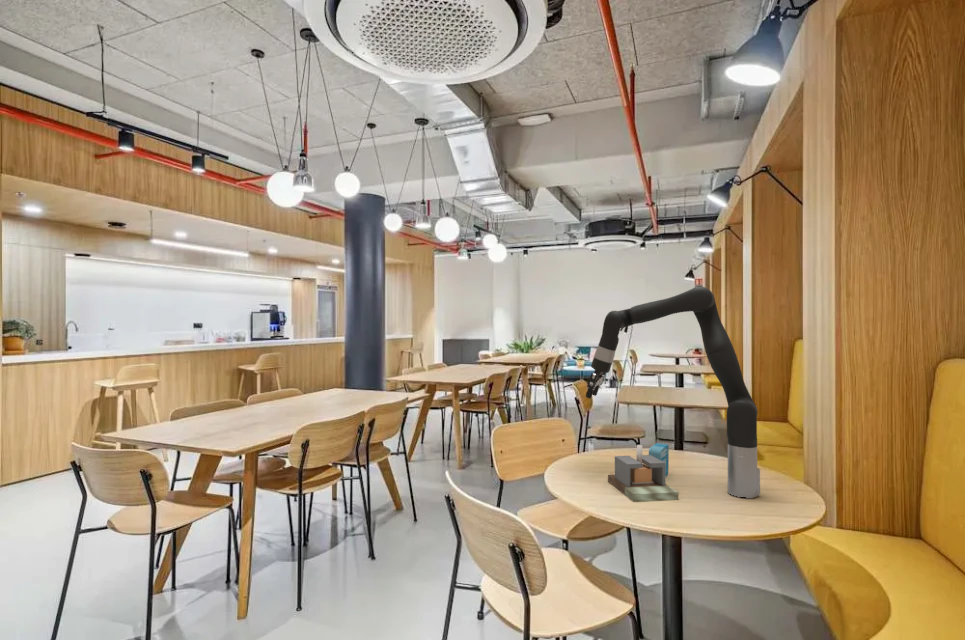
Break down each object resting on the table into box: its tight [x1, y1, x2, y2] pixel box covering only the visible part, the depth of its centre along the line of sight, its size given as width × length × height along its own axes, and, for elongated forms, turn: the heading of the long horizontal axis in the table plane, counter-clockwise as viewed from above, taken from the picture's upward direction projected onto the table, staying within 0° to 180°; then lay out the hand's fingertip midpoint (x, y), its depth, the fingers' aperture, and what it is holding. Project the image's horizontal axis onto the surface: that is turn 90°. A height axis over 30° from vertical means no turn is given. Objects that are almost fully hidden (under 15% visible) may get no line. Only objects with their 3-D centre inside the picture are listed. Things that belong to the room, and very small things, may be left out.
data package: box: [648, 443, 670, 478], centre depth 195 cm, size 12×4×12 cm, turn 146°
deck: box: [607, 473, 680, 503], centre depth 179 cm, size 16×22×2 cm
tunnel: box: [614, 454, 666, 487], centre depth 181 cm, size 14×11×8 cm
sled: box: [630, 444, 654, 484], centre depth 181 cm, size 8×6×13 cm
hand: (590, 396), depth 203 cm, fingers open, 8 cm apart
